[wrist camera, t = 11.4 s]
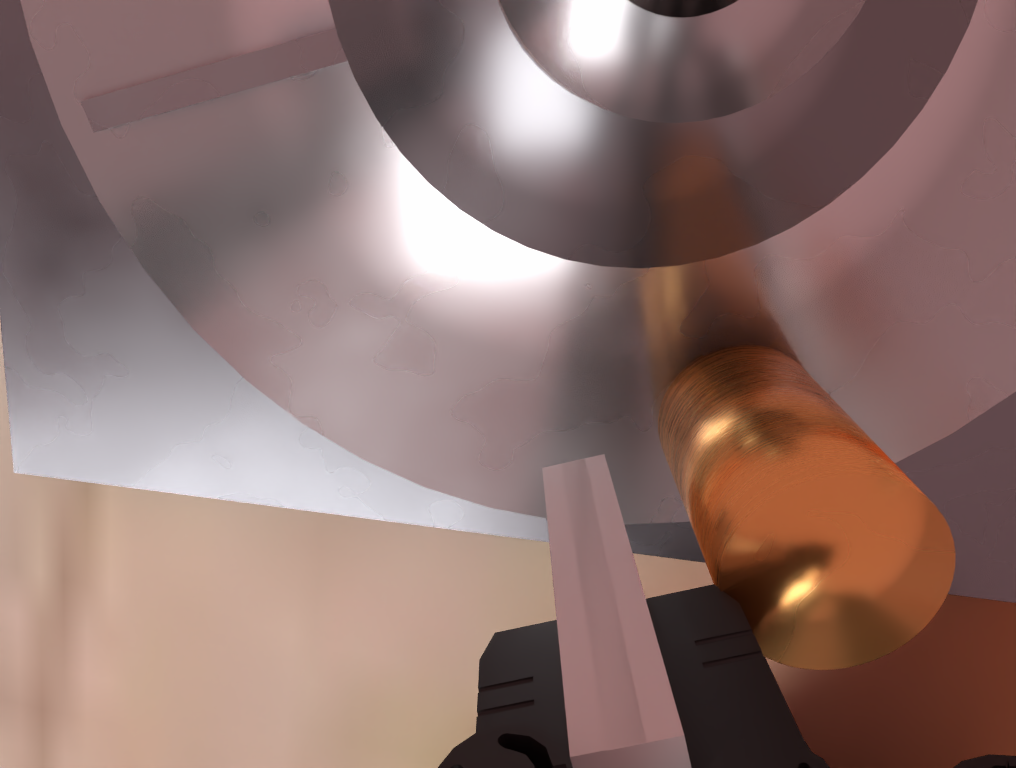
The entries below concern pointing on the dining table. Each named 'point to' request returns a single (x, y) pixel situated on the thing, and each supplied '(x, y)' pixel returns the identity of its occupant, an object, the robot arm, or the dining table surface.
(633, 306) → the turntable
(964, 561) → the turntable base
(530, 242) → the cover
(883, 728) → the dining table surface
